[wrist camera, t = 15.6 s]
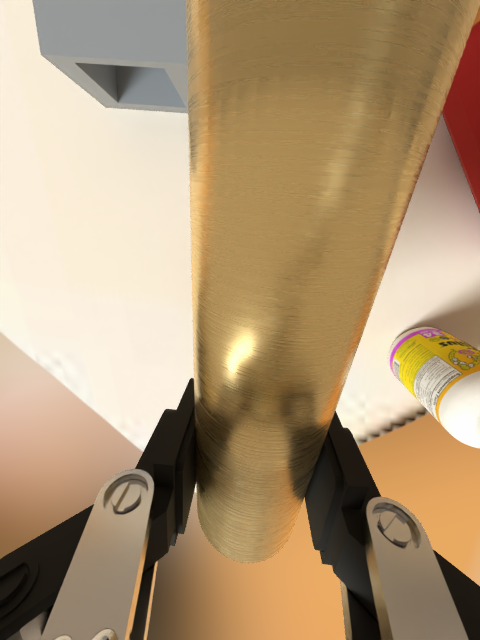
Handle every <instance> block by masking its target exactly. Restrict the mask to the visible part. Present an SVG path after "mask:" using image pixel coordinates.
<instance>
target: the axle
mask: <svg viewBox="0 0 480 640" xmlns="http://www.w3.org/2000/svg"><path fill="white" fill-rule="evenodd" d="M479 6H480V0H186V35H187V80H188V125H189V171H190V216H191V261H192V307H193V352H194V397H195V440H196V488H197V512H198V518H199V522H200V525H201V528H202V530H203V532H204V534H205V536H206V538H207V539H208V541H209V542H210V543H211V544H212V546H213V547H214V548H215V549H216V550H217V551H219V552H220V553H221V554H223V555H224V556H226V557H227V558H230V559H232V560H234V561H239V562H242V563H255V562H260V561H263V560H266V559H268V558H270V557H272V556H273V555H275V554H276V553H277V552H279V550H280V549H281V548H282V547H283V546H284V545H285V543H286V542H287V541H288V538H289V537H290V535H291V533H292V530H293V527H294V524H295V521H296V519H297V516H298V513H299V510H300V507H301V504H302V502H303V499H304V496H305V493H306V491H307V488H308V485H309V482H310V479H311V477H312V474H313V471H314V468H315V465H316V463H317V460H318V457H319V454H320V451H321V449H322V446H323V443H324V440H325V437H326V435H327V432H328V429H329V426H330V423H331V421H332V418H333V415H334V412H335V409H336V407H337V404H338V401H339V398H340V395H341V393H342V390H343V387H344V384H345V381H346V379H347V376H348V373H349V370H350V367H351V365H352V362H353V359H354V356H355V353H356V351H357V348H358V345H359V342H360V339H361V337H362V334H363V331H364V328H365V325H366V323H367V320H368V317H369V314H370V311H371V309H372V306H373V303H374V300H375V297H376V295H377V292H378V289H379V286H380V283H381V281H382V278H383V275H384V272H385V269H386V267H387V264H388V261H389V258H390V255H391V253H392V250H393V247H394V244H395V241H396V239H397V236H398V233H399V230H400V227H401V225H402V222H403V219H404V216H405V213H406V211H407V208H408V205H409V202H410V199H411V197H412V194H413V191H414V188H415V185H416V183H417V180H418V177H419V174H420V171H421V169H422V166H423V163H424V160H425V157H426V155H427V152H428V149H429V146H430V143H431V141H432V138H433V135H434V132H435V129H436V127H437V124H438V121H439V118H440V116H441V113H442V110H443V107H444V104H445V102H446V99H447V96H448V93H449V90H450V88H451V85H452V82H453V79H454V76H455V74H456V71H457V68H458V65H459V62H460V60H461V57H462V54H463V51H464V48H465V46H466V43H467V40H468V37H469V34H470V32H471V29H472V26H473V23H474V20H475V18H476V15H477V12H478V9H479Z"/></svg>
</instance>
